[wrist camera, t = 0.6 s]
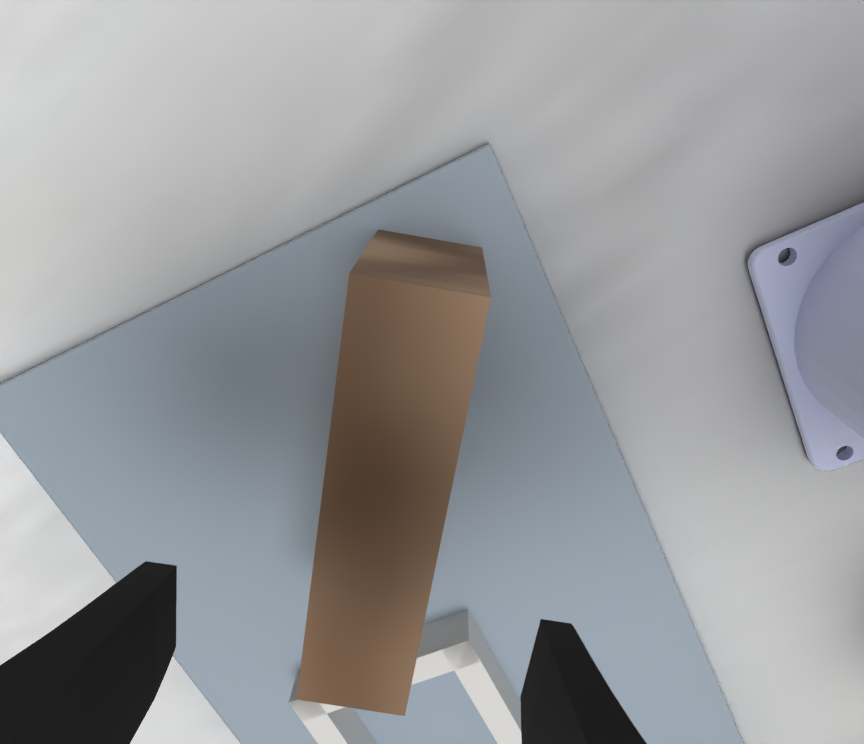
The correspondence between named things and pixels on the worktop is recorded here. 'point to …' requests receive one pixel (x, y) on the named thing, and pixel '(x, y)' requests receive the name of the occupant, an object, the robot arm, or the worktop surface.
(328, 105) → the worktop surface
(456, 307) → the wooden block
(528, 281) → the wall board
